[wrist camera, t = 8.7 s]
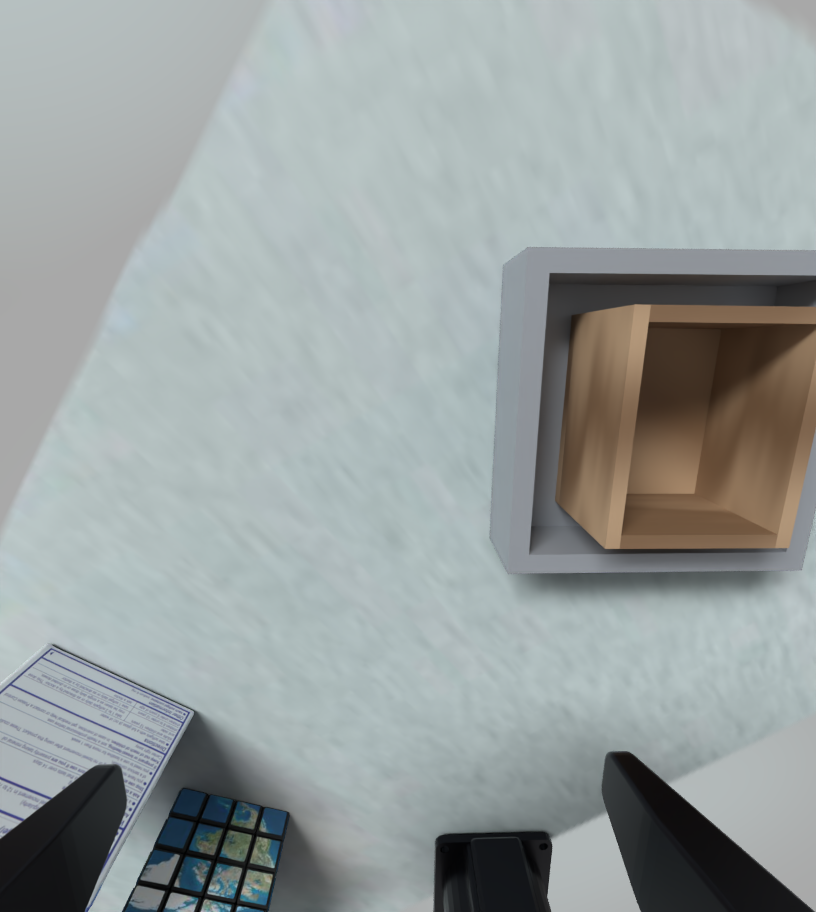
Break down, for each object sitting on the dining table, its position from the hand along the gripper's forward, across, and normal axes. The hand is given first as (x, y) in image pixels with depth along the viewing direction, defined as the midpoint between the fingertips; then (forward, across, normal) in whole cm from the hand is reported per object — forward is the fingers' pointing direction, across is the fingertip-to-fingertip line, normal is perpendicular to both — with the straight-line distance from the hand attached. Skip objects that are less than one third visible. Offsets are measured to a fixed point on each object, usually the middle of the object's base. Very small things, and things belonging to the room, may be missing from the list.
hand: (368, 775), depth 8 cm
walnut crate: (+12, -11, -5) cm, 17 cm away
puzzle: (+13, +9, +19) cm, 25 cm away
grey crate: (+13, -11, -5) cm, 18 cm away
